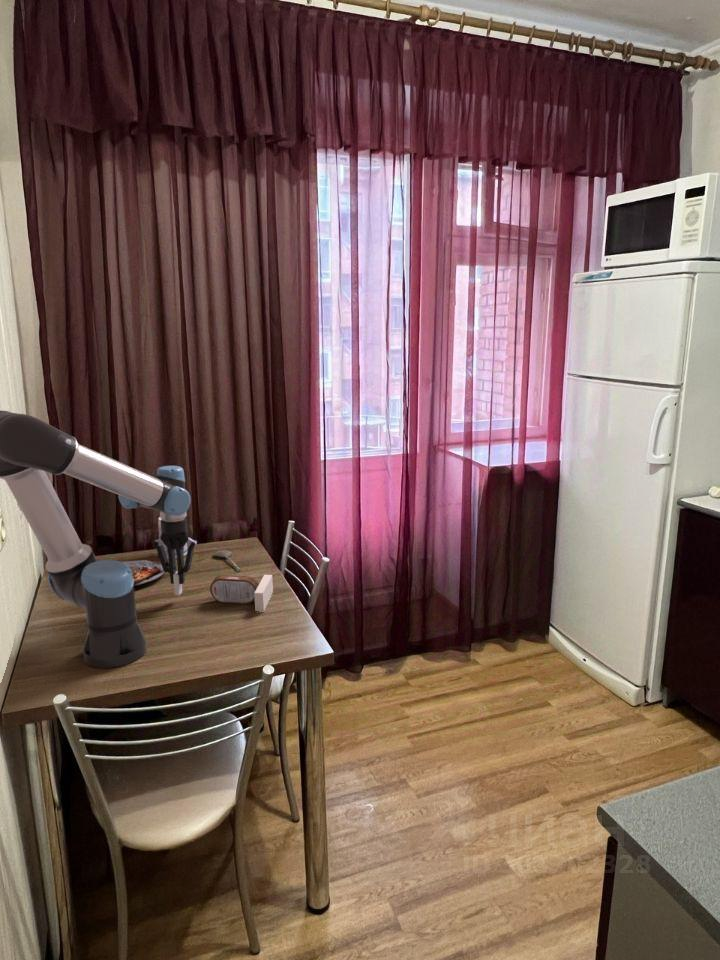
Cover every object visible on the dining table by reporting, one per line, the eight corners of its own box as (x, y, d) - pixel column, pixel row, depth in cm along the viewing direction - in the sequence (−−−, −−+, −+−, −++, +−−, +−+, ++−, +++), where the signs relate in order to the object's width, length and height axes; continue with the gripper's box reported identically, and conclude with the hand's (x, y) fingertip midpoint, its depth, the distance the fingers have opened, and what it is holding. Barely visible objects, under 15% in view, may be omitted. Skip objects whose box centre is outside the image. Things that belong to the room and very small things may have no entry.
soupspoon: (228, 554, 236) (211, 558, 233) (227, 545, 235) (209, 549, 232) (248, 570, 217) (229, 575, 214) (247, 561, 217) (228, 566, 213)
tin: (261, 601, 192) (259, 575, 190) (258, 605, 189) (256, 579, 187) (213, 599, 194) (211, 573, 192) (209, 603, 191) (207, 577, 189)
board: (263, 612, 184) (262, 593, 183) (255, 612, 184) (254, 593, 183) (273, 592, 198) (272, 574, 196) (265, 592, 198) (264, 574, 197)
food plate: (181, 573, 214) (180, 564, 213) (122, 599, 195) (121, 588, 195) (134, 562, 228) (132, 553, 227) (75, 584, 209) (73, 574, 208)
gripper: (199, 515, 190) (203, 589, 195) (156, 514, 191) (161, 588, 196) (191, 522, 183) (195, 599, 187) (147, 521, 183) (152, 597, 188)
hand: (178, 593), depth 192 cm, fingers closed
